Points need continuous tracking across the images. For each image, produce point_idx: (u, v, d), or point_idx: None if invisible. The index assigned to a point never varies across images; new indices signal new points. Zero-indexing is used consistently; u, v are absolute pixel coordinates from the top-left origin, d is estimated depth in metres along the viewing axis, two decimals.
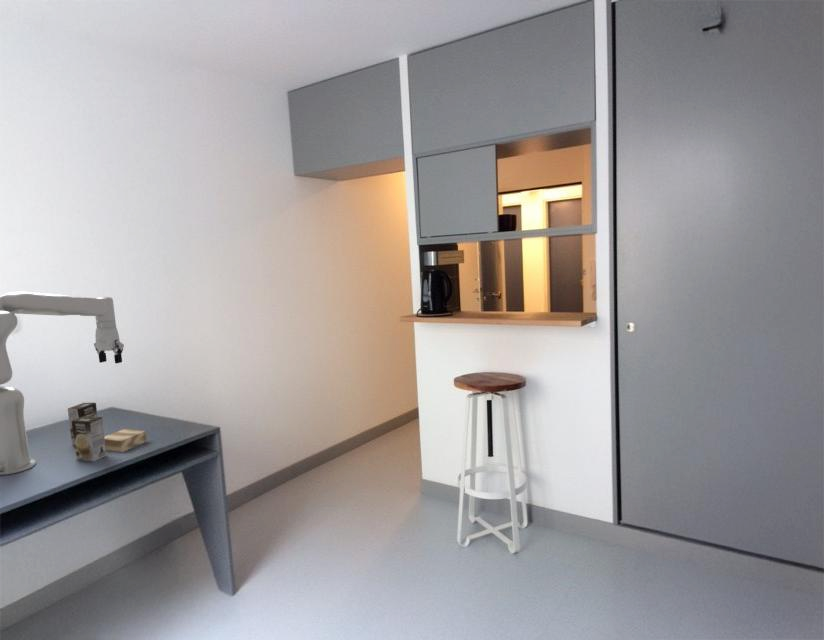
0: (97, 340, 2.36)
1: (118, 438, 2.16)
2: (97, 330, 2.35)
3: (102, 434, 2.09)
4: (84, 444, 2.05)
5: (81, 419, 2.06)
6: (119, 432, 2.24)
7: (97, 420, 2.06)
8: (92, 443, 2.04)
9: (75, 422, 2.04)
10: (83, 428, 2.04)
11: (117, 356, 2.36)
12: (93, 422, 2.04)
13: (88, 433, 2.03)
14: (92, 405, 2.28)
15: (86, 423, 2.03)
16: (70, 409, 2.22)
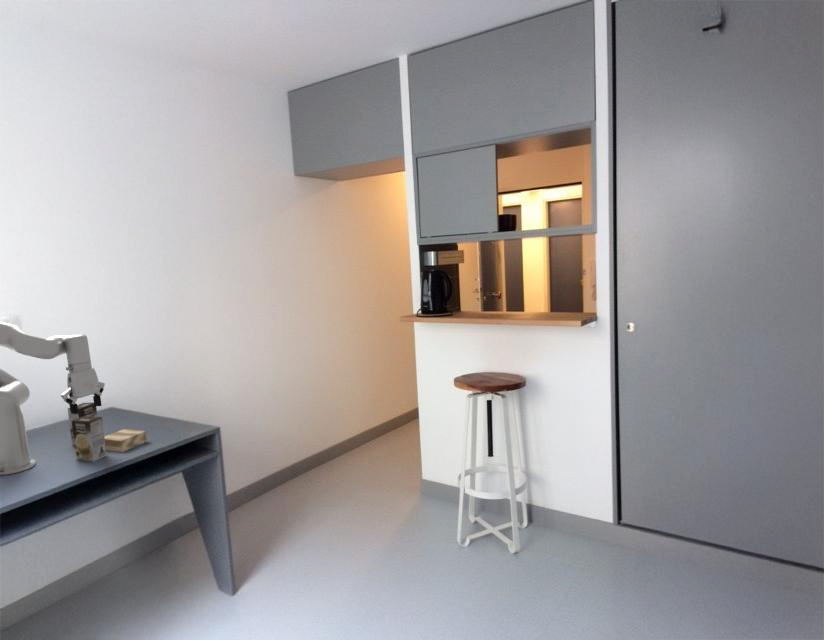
0: (79, 386, 2.01)
1: (118, 438, 2.16)
2: (79, 374, 2.01)
3: (102, 434, 2.09)
4: (84, 444, 2.05)
5: (81, 419, 2.06)
6: (119, 432, 2.24)
7: (97, 420, 2.06)
8: (92, 443, 2.04)
9: (75, 422, 2.04)
10: (83, 428, 2.04)
11: None
12: (93, 422, 2.04)
13: (88, 433, 2.03)
14: (92, 405, 2.28)
15: (86, 423, 2.03)
16: None
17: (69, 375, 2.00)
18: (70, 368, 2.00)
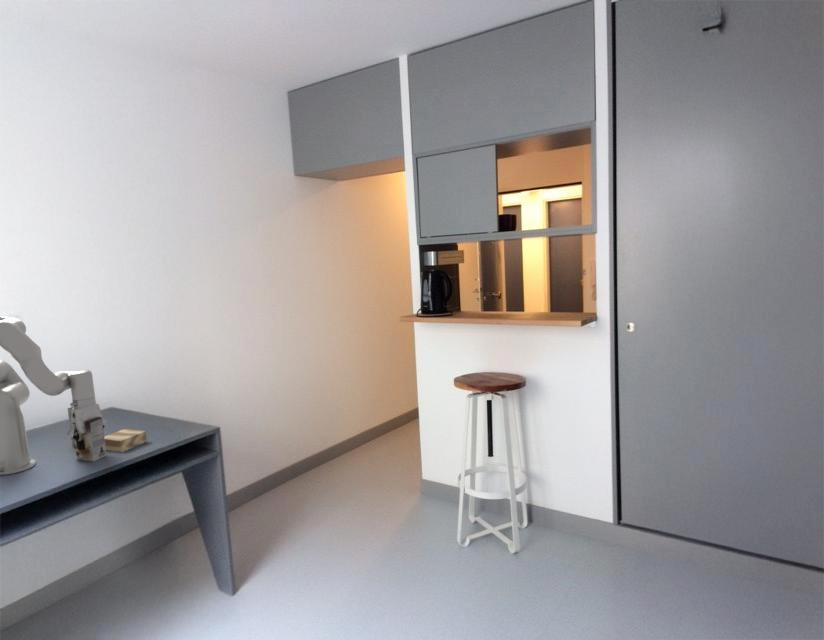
0: (83, 422, 2.03)
1: (118, 438, 2.16)
2: (83, 410, 2.03)
3: (102, 434, 2.09)
4: (84, 444, 2.05)
5: None
6: (119, 432, 2.24)
7: (97, 420, 2.06)
8: (92, 443, 2.04)
9: None
10: None
11: None
12: (93, 422, 2.04)
13: (88, 432, 2.03)
14: None
15: (86, 423, 2.03)
16: (70, 409, 2.22)
17: (73, 411, 2.02)
18: (74, 404, 2.02)
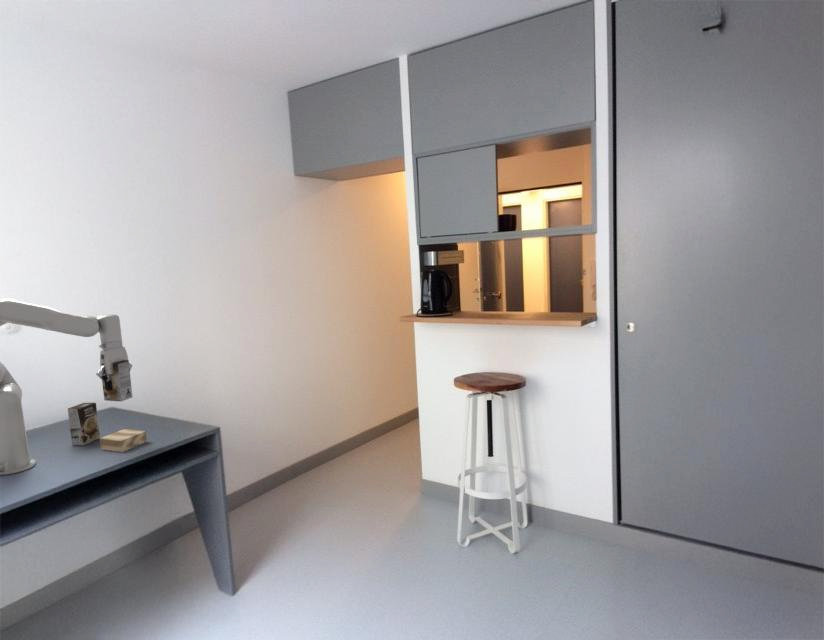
0: (111, 363, 2.12)
1: (118, 439, 2.16)
2: (111, 351, 2.13)
3: (129, 376, 2.18)
4: (112, 384, 2.14)
5: None
6: (119, 432, 2.24)
7: (124, 362, 2.16)
8: (119, 383, 2.14)
9: None
10: None
11: None
12: (121, 364, 2.14)
13: (116, 373, 2.13)
14: (92, 405, 2.28)
15: (114, 364, 2.13)
16: (70, 409, 2.22)
17: (102, 352, 2.12)
18: (103, 346, 2.11)
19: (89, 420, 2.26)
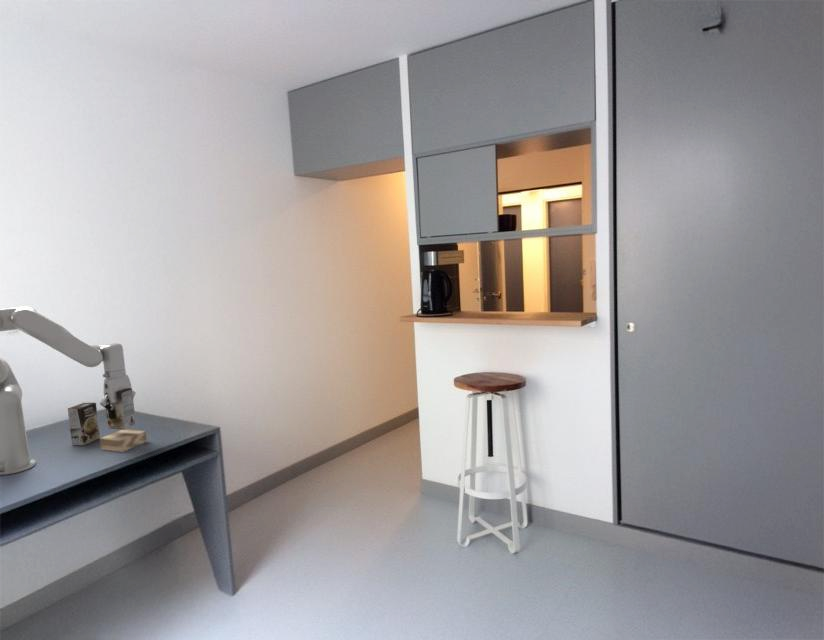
0: (114, 392, 2.14)
1: (118, 438, 2.16)
2: (115, 381, 2.14)
3: (132, 404, 2.20)
4: (116, 413, 2.16)
5: None
6: (119, 432, 2.24)
7: (128, 391, 2.18)
8: (123, 412, 2.15)
9: None
10: None
11: None
12: (124, 392, 2.16)
13: (120, 402, 2.15)
14: (92, 405, 2.28)
15: (118, 393, 2.14)
16: (70, 409, 2.22)
17: (105, 382, 2.13)
18: (107, 375, 2.13)
19: (89, 420, 2.26)
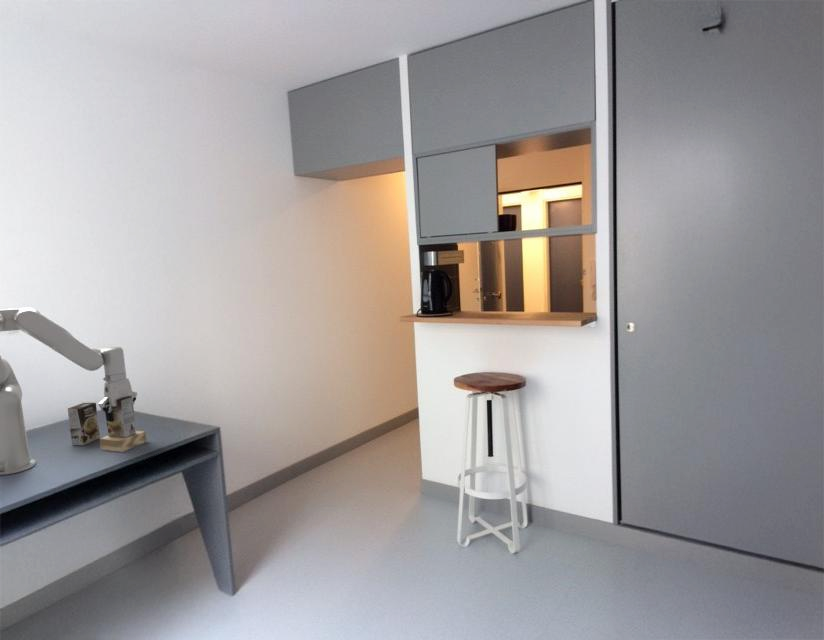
0: (115, 396, 2.14)
1: (118, 439, 2.16)
2: (115, 384, 2.14)
3: (132, 412, 2.20)
4: (116, 421, 2.16)
5: None
6: None
7: (127, 398, 2.18)
8: (123, 420, 2.16)
9: None
10: None
11: None
12: (124, 400, 2.16)
13: (120, 410, 2.15)
14: (92, 405, 2.28)
15: (117, 401, 2.15)
16: (70, 409, 2.22)
17: (106, 385, 2.14)
18: (107, 379, 2.13)
19: (89, 420, 2.26)
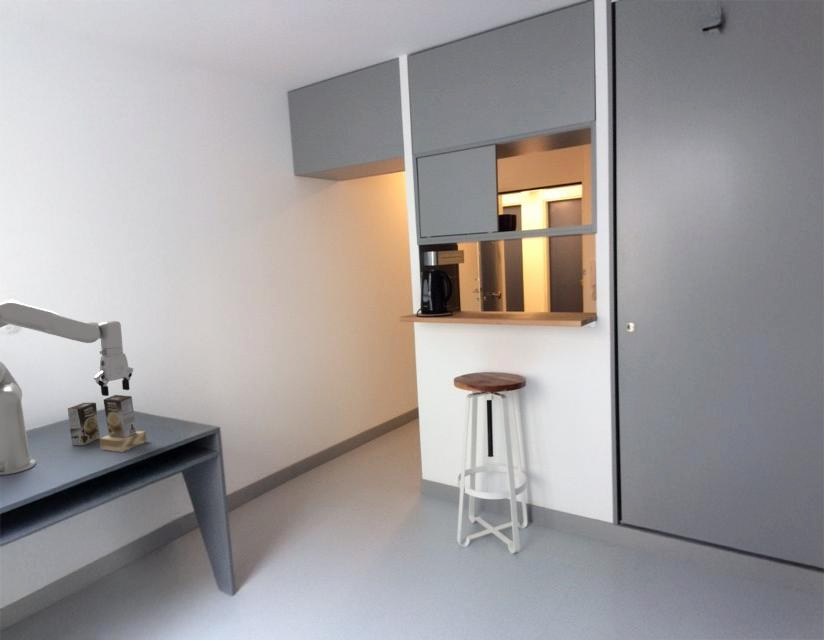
0: (111, 370, 2.13)
1: (118, 439, 2.16)
2: (111, 358, 2.13)
3: (132, 412, 2.20)
4: (116, 421, 2.16)
5: (112, 398, 2.17)
6: None
7: (127, 399, 2.17)
8: (123, 420, 2.16)
9: (107, 401, 2.16)
10: (114, 406, 2.15)
11: None
12: (123, 401, 2.16)
13: (120, 411, 2.15)
14: (92, 405, 2.28)
15: (117, 402, 2.14)
16: (70, 409, 2.22)
17: (102, 359, 2.12)
18: (104, 352, 2.12)
19: (89, 420, 2.26)
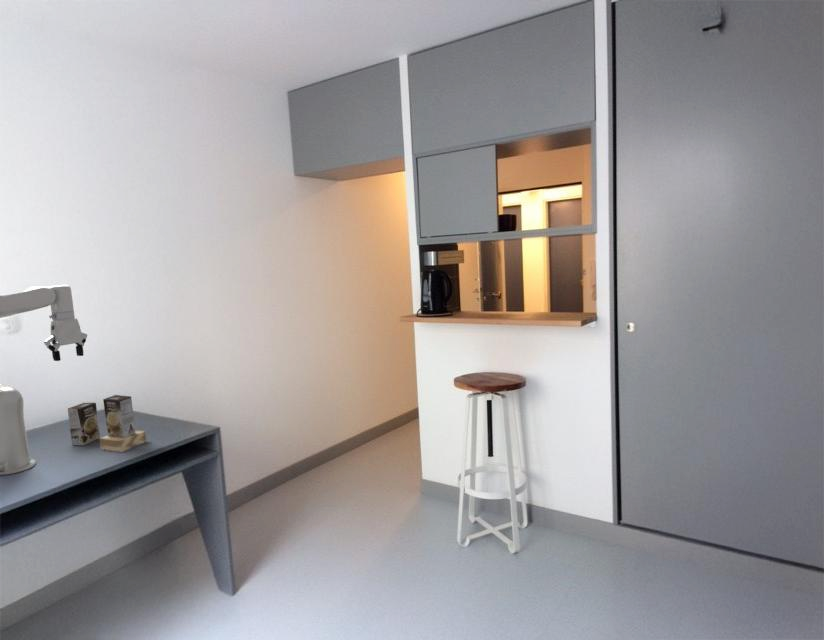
0: (62, 334, 2.09)
1: (118, 439, 2.16)
2: (62, 322, 2.09)
3: (131, 412, 2.20)
4: (115, 421, 2.17)
5: (112, 398, 2.18)
6: None
7: (126, 399, 2.18)
8: (122, 420, 2.16)
9: (106, 400, 2.16)
10: (114, 406, 2.16)
11: None
12: (123, 401, 2.16)
13: (118, 410, 2.15)
14: (92, 405, 2.28)
15: (116, 401, 2.15)
16: (70, 409, 2.22)
17: (52, 323, 2.08)
18: (53, 316, 2.08)
19: (89, 420, 2.26)
